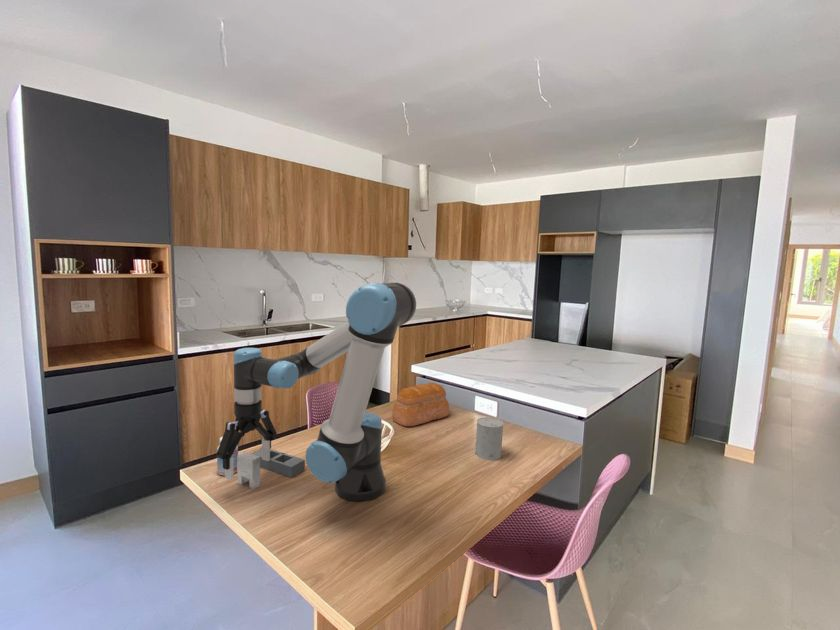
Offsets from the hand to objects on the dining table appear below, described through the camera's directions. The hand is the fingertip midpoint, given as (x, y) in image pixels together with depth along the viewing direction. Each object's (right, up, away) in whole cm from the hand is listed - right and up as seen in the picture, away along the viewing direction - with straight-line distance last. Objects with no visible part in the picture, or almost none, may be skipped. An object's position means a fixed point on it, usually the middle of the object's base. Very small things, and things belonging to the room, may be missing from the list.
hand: (248, 468), depth 127 cm
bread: (+52, 0, +61) cm, 80 cm away
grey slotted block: (+5, -4, +12) cm, 13 cm away
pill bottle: (-10, -4, +8) cm, 13 cm away
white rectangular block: (0, -5, +1) cm, 5 cm away
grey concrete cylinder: (+77, -5, +28) cm, 82 cm away
